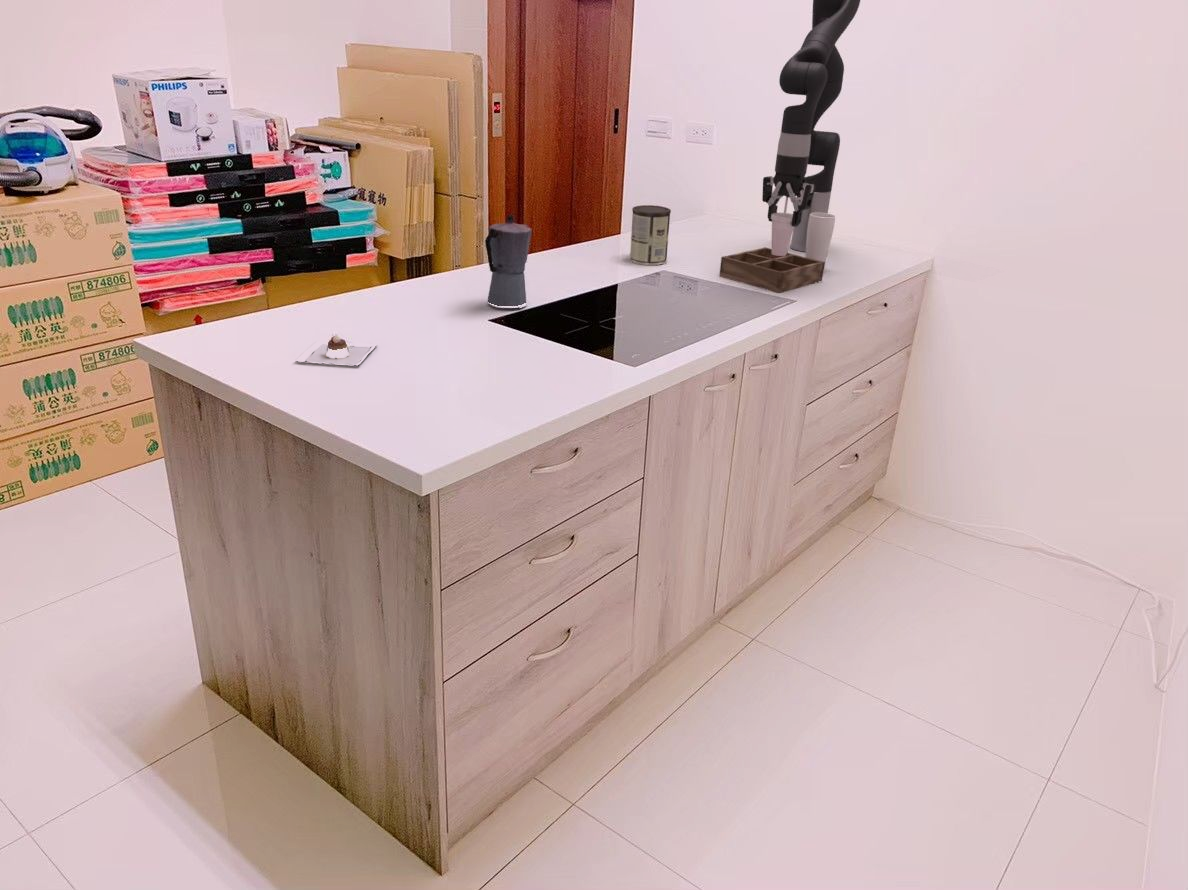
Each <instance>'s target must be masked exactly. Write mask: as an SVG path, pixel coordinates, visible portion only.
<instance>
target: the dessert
mask: <svg viewBox="0 0 1188 890" xmlns="http://www.w3.org/2000/svg"><path fill="white" fill-rule="evenodd" d="M328 340H329V339H328ZM346 342H347V341H346V340H345V339H343V338H340V336H339V335H338V334H335V335H332V337H331V338H330V340H329V342H328V345H326V346H327V347H326V349H327V348H329V349H332V350H337V349H343V348H346V347H347V344H346Z"/></svg>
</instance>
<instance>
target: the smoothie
mask: <svg viewBox="0 0 1188 890" xmlns="http://www.w3.org/2000/svg"><path fill="white" fill-rule="evenodd" d="M784 202H785V203H784V209H783V212H777V213H772V214H771V219H772V222H771V248H770V249H771V254H773V255H776V256H786V254H787V253H788V249H789V246H790V244H791V243H790V242H791V240H792V234H793V228H794V227H793V226H792V225H791V224H792V217H793V213H789V212H787V208H788V202H789V197H786V196H785V200H784Z"/></svg>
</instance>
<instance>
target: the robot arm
mask: <svg viewBox="0 0 1188 890" xmlns="http://www.w3.org/2000/svg"><path fill="white" fill-rule="evenodd" d="M860 4H861V0H812V12H811V13H812V17H811V18H812V20H811V21H812V22H811V24H812V25H811V30H810V31H809V32H808V33H807V35H806V36H805V38H804V40H803V43H802V45H801V47H800V49H799V50H798V51H796V52H795V54H793V56H792V57H790V58H789V59H788V61H786V62H785V64H784V65H783V67H782V68H781V70H780V75H779V81H778V82H779V86H780V89H781V91H782V92H784V93H785V94H787V95H798V96H805V101H804V102H803V103H801V104H794V105H789V106H787V107H785V108H784V109H783V113H782V121H781V127H780V128H781V129H780V134H779V139H778V143H777V151H776V157H775V164H774V165H775V166H774V172H775V174H774V176H771V175H770V176H764V177H763V178H762V199H761V200H762V202H763V203H766V204H767V205H768V210H767V219H768V222H771V223H772V219H771V214H772V213H778V203H779V202H780V201H781V199H782V198H783V197H784V196H785V198H786V197H788V199H789V200H790V202H791V203H792V207H793V209H794V210H793V211H792V214H793V217H792V224H791V225H792V226H793V227H794V228H793V232H792V236H791V239H790V242H791V243H790V248H791V249H793V250H795V251H799V252H805V253H806V241H807V228H808V221H809V216H810V214H811V213H828V214H829V209H830V208H829V207H830V202H831V197H832V196H831V195H832V190H833V189H832V188H833V183H834V175H835V170H836V165H837V160H838V156H839V151H840V147H841V146H840V145H841V144H840V143H841V136H840V134H839V133H838V132H836V131H835V132H834V131H821V130H815V128H816V125H817V123H818V122H819V120H820V119H821V118H822V117H823V115H824V114H825V113H826V112H827V110H828V109H829V108H831V106H832V105H833V104H834V103H835V101H836V100H837V99H838V98H839V96H840V94H841V92H842V87H843V80H844V74H845V65H844V61H843V59H842V56H841V54H840V52H839V49H838V47H837V46H836V44H837V42H838V41H839V39H840V38H841V36H842V34H843V33H844V32H845V31H846V30H847V28H848V27H849V25H850V24H851V22H852V21H853V19H854V18H855V16H856V14H857V12H858V9H859V8H860ZM808 165H809V166H822V167H823V169H822V170H821V171H819V172H817V173H815V174H812V175H808V176H806V174H807V170H808ZM773 186H774V187H775V188H774V190H773Z"/></svg>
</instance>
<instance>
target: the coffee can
mask: <svg viewBox="0 0 1188 890" xmlns="http://www.w3.org/2000/svg"><path fill="white" fill-rule="evenodd" d="M631 208H632V209H631V210H632V219H631V232H630V233H631V234H630V236H631V237H630V250H629V251H630V252H629V253H630V254H629V261H630V262H631V263H633V264H636V265H641V266H650V265H654V266H661V265H660V264H662V265H665V264H666V263H667V262H668V261H667V258H668V246H669V245H668V243H669V231H670V219H671V212H672V210H671V209H670V208H669V207H666V206H660V205H652V204H648V205H647V204H646V205H645V204H644V205H636V206H633V207H631ZM664 263H665V264H664Z"/></svg>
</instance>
